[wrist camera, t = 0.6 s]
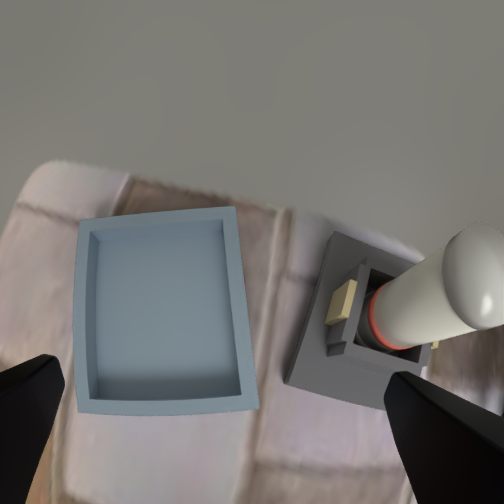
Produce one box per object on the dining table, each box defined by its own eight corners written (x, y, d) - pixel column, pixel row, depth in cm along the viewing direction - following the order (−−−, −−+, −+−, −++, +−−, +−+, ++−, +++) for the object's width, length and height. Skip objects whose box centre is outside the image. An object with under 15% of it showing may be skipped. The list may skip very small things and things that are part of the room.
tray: (255, 404, 19) (259, 408, 17) (92, 409, 18) (78, 412, 16) (233, 221, 25) (235, 205, 22) (91, 234, 23) (80, 220, 21)
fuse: (393, 361, 20) (520, 335, 9) (340, 345, 20) (455, 307, 9) (405, 304, 22) (519, 244, 11) (356, 285, 22) (458, 205, 11)
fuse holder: (398, 413, 20) (432, 417, 15) (283, 383, 20) (299, 386, 16) (426, 279, 24) (458, 260, 20) (328, 239, 25) (349, 211, 20)
